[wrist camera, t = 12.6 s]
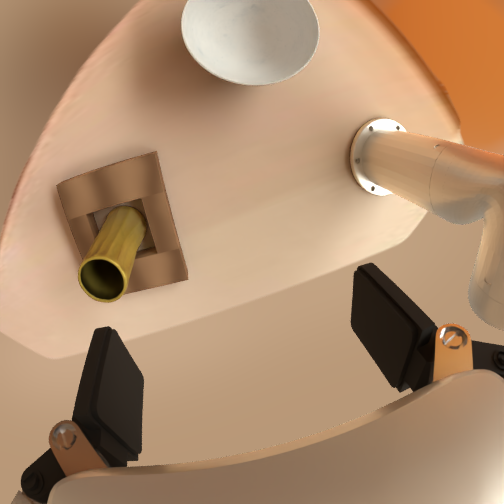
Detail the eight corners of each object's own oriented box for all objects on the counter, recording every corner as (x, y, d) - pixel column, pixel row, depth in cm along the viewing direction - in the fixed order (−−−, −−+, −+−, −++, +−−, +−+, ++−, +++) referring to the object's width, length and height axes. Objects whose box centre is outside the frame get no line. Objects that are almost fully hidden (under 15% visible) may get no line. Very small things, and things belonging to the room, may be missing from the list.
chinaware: (314, 34, 31) (341, 20, 24) (256, 112, 35) (273, 112, 28) (225, -22, 24) (234, -48, 18) (158, 57, 28) (151, 42, 22)
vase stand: (156, 151, 34) (154, 153, 32) (187, 270, 43) (188, 279, 40) (63, 181, 32) (56, 185, 30) (104, 290, 41) (100, 299, 39)
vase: (129, 254, 39) (111, 316, 27) (97, 228, 37) (63, 282, 24) (155, 224, 38) (143, 278, 26) (122, 196, 36) (92, 239, 23)
